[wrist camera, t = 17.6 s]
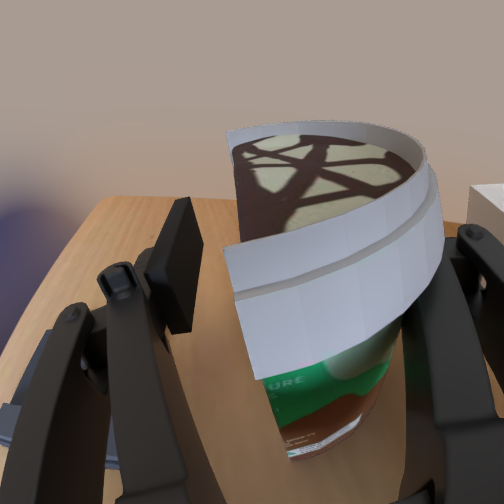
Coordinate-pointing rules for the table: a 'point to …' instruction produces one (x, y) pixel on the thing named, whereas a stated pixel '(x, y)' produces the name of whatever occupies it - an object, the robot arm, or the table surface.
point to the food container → (328, 265)
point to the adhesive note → (487, 210)
